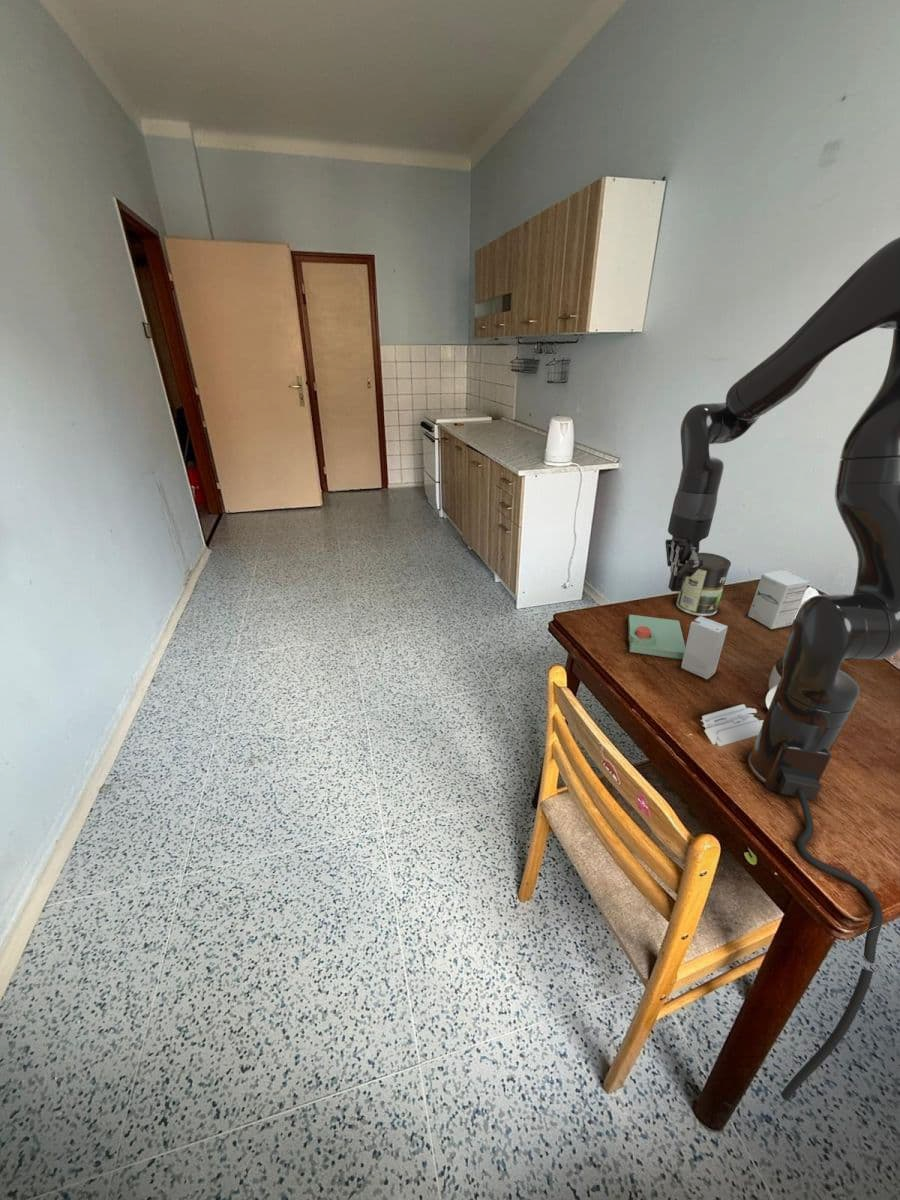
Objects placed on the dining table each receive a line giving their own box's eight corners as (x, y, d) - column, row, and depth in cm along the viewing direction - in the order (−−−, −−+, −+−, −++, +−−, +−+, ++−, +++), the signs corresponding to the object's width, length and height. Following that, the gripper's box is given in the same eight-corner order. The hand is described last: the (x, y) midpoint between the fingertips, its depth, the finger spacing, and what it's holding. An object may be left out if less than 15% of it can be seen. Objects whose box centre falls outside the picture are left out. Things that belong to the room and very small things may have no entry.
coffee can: (718, 603, 130) (732, 556, 124) (715, 620, 123) (729, 570, 116) (678, 595, 135) (689, 549, 128) (672, 610, 127) (684, 562, 121)
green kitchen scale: (685, 660, 107) (688, 647, 106) (627, 651, 111) (629, 639, 109) (677, 626, 120) (680, 615, 118) (626, 620, 123) (628, 608, 122)
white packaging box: (746, 616, 124) (760, 572, 118) (768, 611, 126) (783, 568, 120) (770, 630, 118) (787, 585, 112) (793, 625, 120) (810, 580, 114)
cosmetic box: (716, 672, 103) (730, 625, 97) (706, 681, 101) (720, 633, 95) (688, 660, 107) (700, 614, 102) (678, 668, 105) (690, 621, 99)
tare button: (649, 640, 109) (651, 633, 108) (636, 638, 110) (637, 631, 109) (648, 633, 112) (650, 627, 111) (635, 631, 113) (636, 625, 112)
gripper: (660, 502, 99) (645, 577, 107) (688, 523, 87) (669, 604, 95) (696, 502, 99) (679, 576, 107) (728, 522, 87) (706, 604, 95)
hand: (674, 589), depth 101 cm, fingers closed
